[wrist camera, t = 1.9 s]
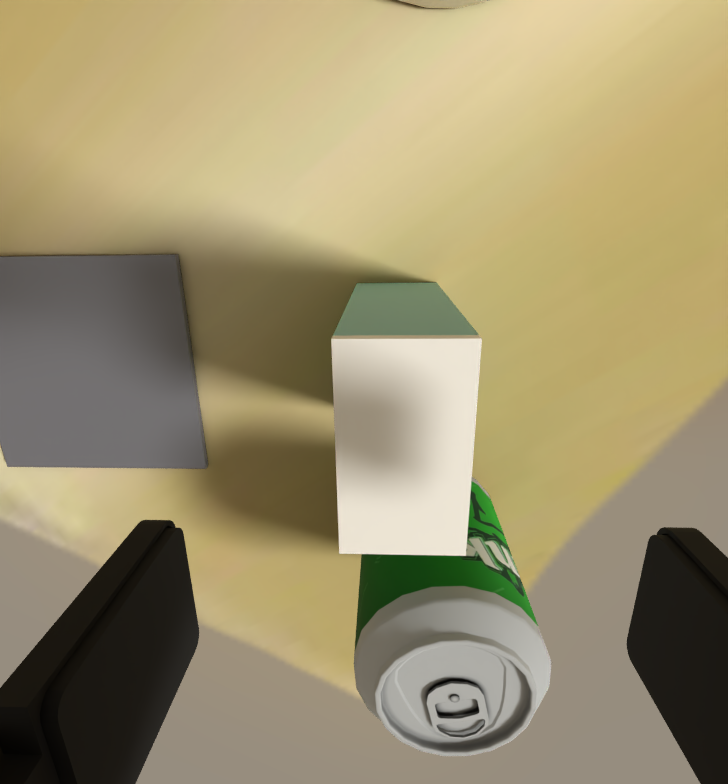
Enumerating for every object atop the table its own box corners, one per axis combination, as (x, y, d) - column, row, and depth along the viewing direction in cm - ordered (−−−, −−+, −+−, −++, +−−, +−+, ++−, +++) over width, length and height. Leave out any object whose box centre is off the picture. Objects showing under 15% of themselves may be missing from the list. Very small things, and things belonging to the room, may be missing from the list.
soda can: (380, 570, 30) (376, 780, 19) (352, 467, 28) (328, 638, 16) (499, 551, 29) (570, 760, 18) (481, 443, 27) (550, 607, 15)
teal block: (357, 282, 24) (331, 338, 13) (436, 282, 24) (481, 338, 12) (359, 411, 26) (339, 553, 15) (431, 411, 26) (465, 555, 15)
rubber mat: (-50, 256, 24) (-57, 257, 24) (178, 254, 24) (174, 254, 23) (12, 463, 28) (7, 466, 28) (208, 465, 28) (205, 468, 28)
